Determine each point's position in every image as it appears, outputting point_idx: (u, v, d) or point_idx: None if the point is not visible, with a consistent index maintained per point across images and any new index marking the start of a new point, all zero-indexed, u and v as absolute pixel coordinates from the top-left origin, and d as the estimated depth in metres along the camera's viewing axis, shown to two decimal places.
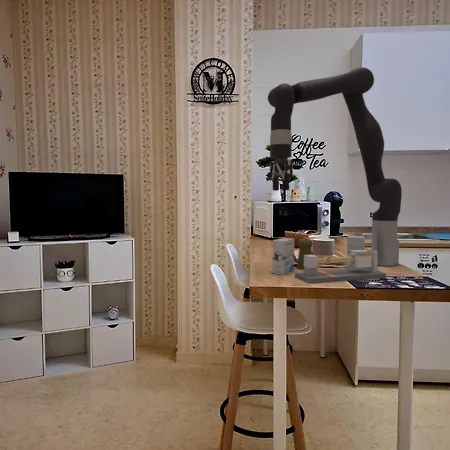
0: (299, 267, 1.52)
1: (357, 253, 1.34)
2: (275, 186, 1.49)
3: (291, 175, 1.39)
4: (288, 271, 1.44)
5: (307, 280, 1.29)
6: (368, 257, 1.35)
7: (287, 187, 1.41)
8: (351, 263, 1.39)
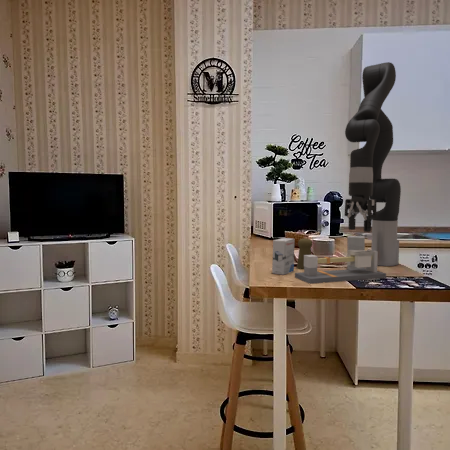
0: (299, 267, 1.52)
1: (357, 253, 1.34)
2: (351, 225, 1.41)
3: (375, 216, 1.30)
4: (288, 271, 1.44)
5: (307, 280, 1.29)
6: (368, 257, 1.35)
7: (369, 228, 1.32)
8: (351, 263, 1.39)
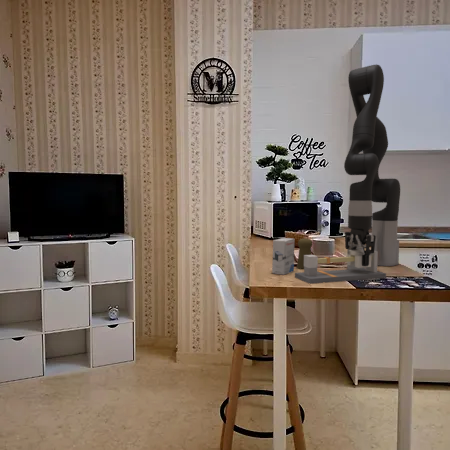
0: (299, 267, 1.52)
1: (357, 253, 1.34)
2: None
3: (372, 251, 1.32)
4: (288, 271, 1.44)
5: (307, 280, 1.29)
6: None
7: (367, 263, 1.34)
8: (351, 263, 1.39)
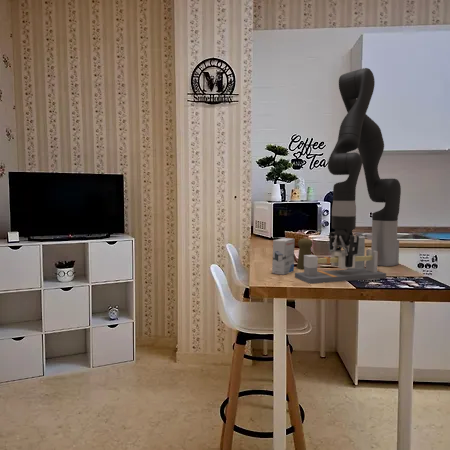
0: (299, 267, 1.52)
1: (341, 254, 1.33)
2: None
3: (356, 252, 1.30)
4: (288, 271, 1.44)
5: (307, 280, 1.29)
6: None
7: (351, 264, 1.32)
8: (335, 264, 1.37)
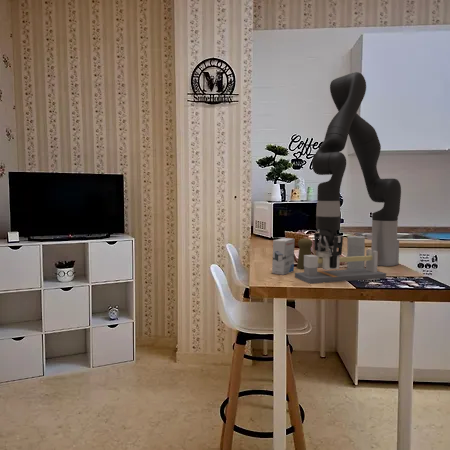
0: (299, 267, 1.52)
1: (325, 255, 1.31)
2: None
3: (340, 253, 1.29)
4: (288, 271, 1.44)
5: (307, 280, 1.29)
6: None
7: (335, 265, 1.30)
8: (319, 265, 1.35)
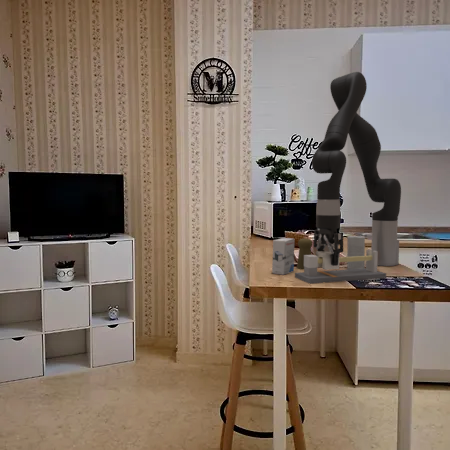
0: (299, 267, 1.52)
1: (324, 255, 1.31)
2: None
3: (341, 250, 1.28)
4: (288, 271, 1.44)
5: (307, 280, 1.29)
6: None
7: (336, 262, 1.29)
8: (319, 265, 1.35)
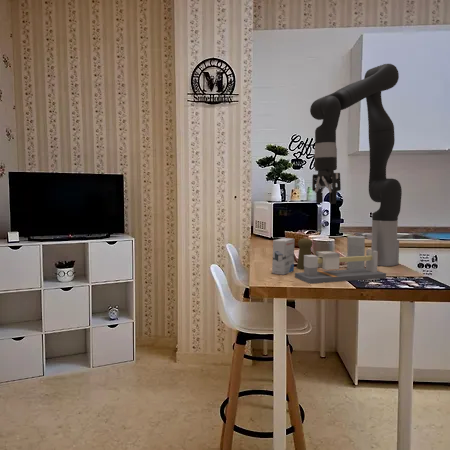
0: (299, 267, 1.52)
1: (324, 255, 1.31)
2: (319, 199, 1.48)
3: (339, 188, 1.37)
4: (288, 271, 1.44)
5: (307, 280, 1.29)
6: (336, 259, 1.32)
7: (334, 200, 1.39)
8: (319, 265, 1.35)
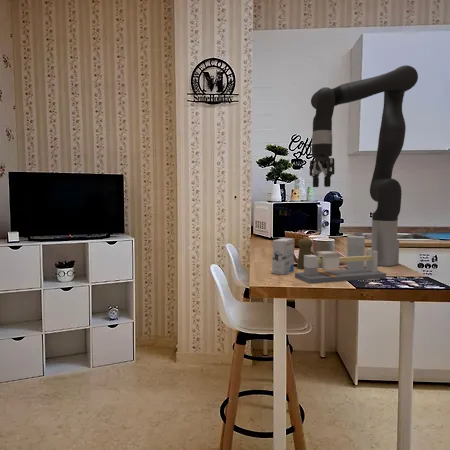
0: (299, 267, 1.52)
1: (324, 255, 1.31)
2: (315, 183, 1.60)
3: (333, 172, 1.49)
4: (288, 271, 1.44)
5: (307, 280, 1.29)
6: (336, 259, 1.32)
7: (329, 184, 1.51)
8: (319, 265, 1.35)
